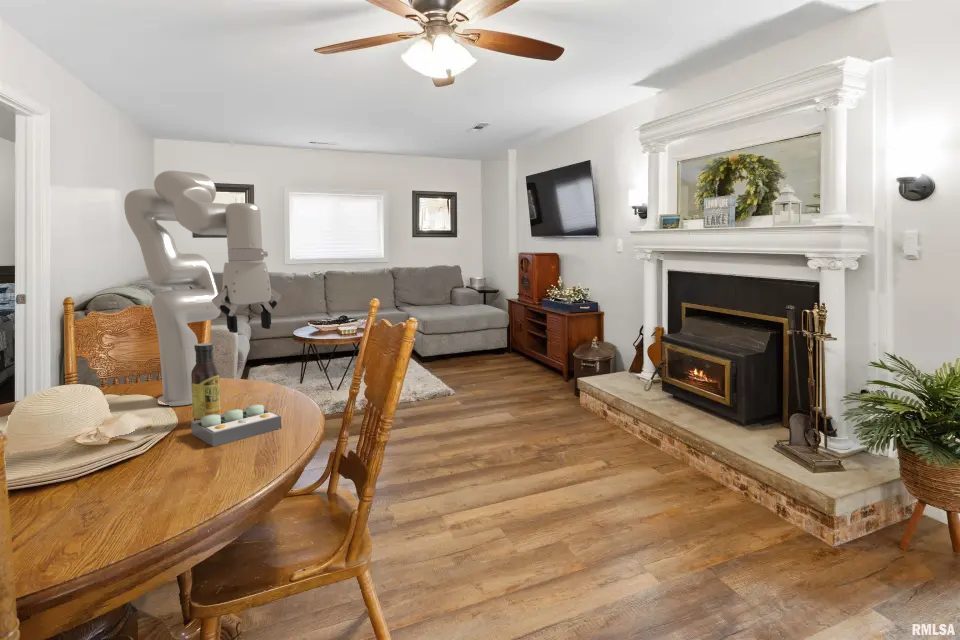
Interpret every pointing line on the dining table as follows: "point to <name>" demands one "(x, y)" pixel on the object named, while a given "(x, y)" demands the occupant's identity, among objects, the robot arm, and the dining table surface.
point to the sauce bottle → (205, 383)
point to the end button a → (210, 420)
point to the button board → (236, 428)
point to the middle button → (233, 415)
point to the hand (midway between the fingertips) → (250, 329)
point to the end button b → (254, 410)
